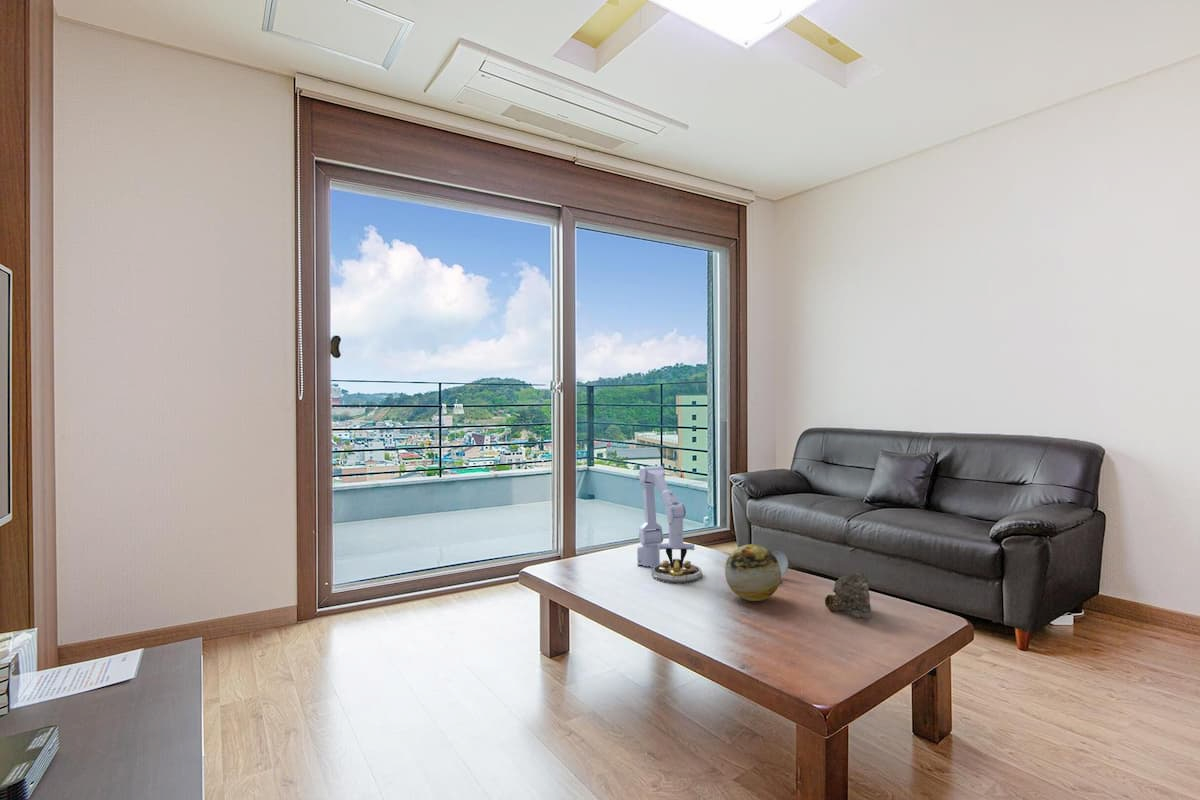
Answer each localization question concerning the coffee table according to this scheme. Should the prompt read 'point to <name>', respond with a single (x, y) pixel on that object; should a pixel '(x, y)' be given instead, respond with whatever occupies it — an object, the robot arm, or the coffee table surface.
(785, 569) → the pocket watch
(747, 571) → the decorative sphere
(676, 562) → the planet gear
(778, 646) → the coffee table surface
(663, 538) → the robot arm
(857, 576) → the rock
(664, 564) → the carrier
